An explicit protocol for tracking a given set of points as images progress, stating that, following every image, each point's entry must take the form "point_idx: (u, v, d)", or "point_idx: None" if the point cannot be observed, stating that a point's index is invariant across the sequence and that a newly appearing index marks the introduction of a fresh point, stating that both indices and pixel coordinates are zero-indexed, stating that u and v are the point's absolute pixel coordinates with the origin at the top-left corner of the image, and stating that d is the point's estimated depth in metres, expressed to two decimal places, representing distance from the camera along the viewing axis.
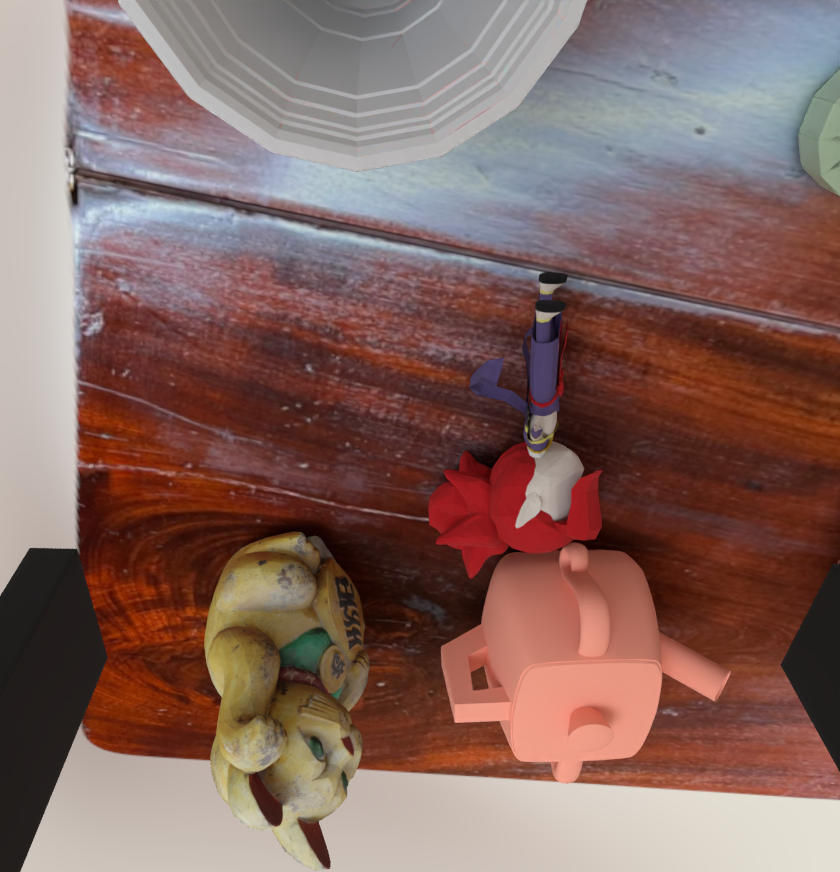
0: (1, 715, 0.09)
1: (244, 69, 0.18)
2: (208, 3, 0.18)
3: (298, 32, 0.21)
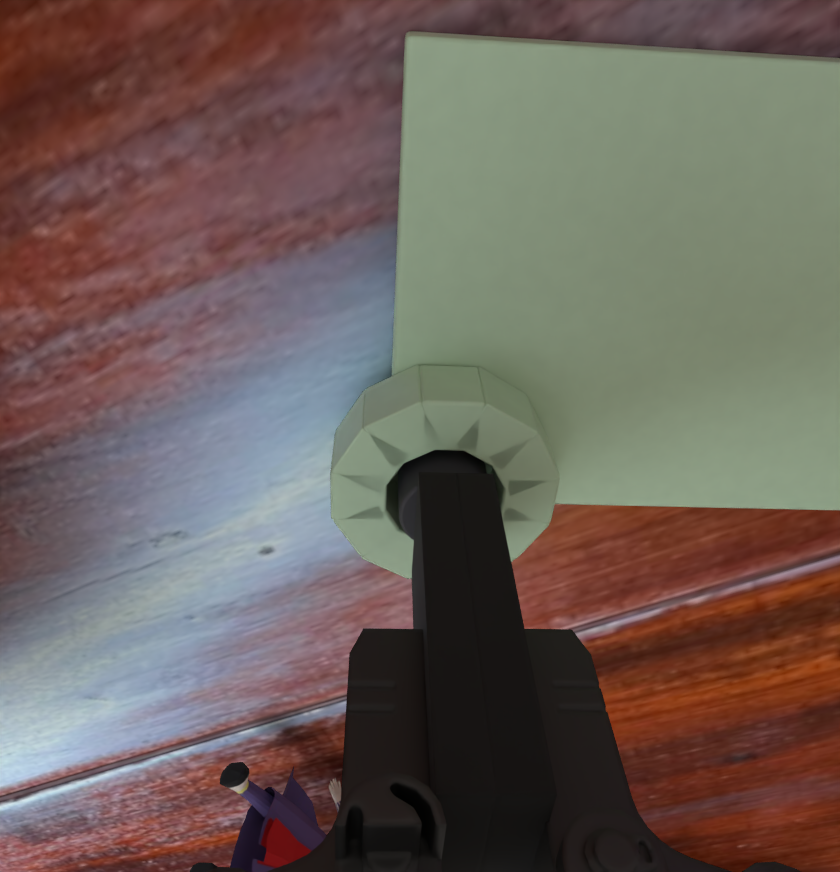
0: None
1: None
2: None
3: None
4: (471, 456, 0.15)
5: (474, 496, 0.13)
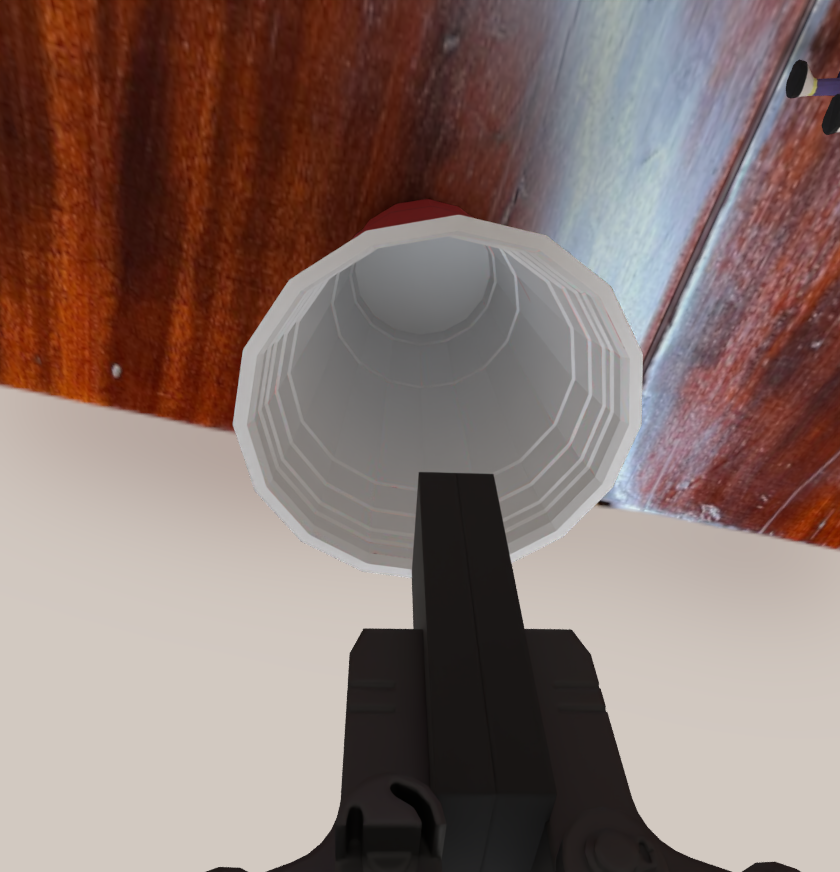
0: None
1: (543, 473, 0.22)
2: (495, 479, 0.23)
3: (511, 376, 0.25)
4: None
5: (474, 496, 0.13)
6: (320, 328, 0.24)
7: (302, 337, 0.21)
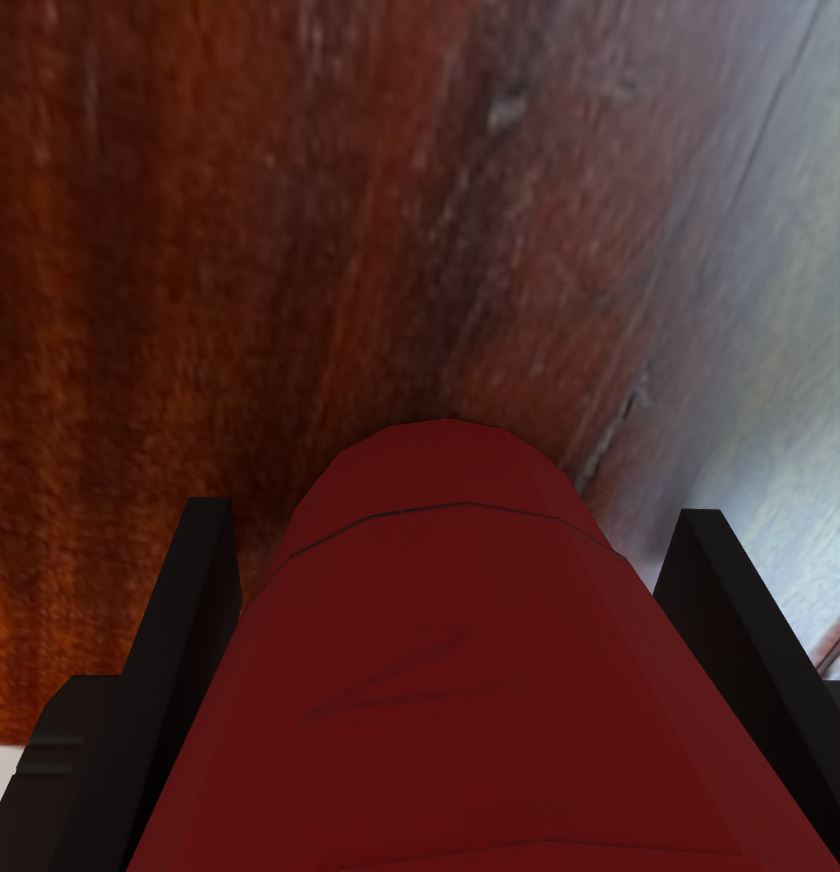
0: (196, 632, 0.11)
1: None
2: None
3: None
4: None
5: (711, 534, 0.13)
6: None
7: None
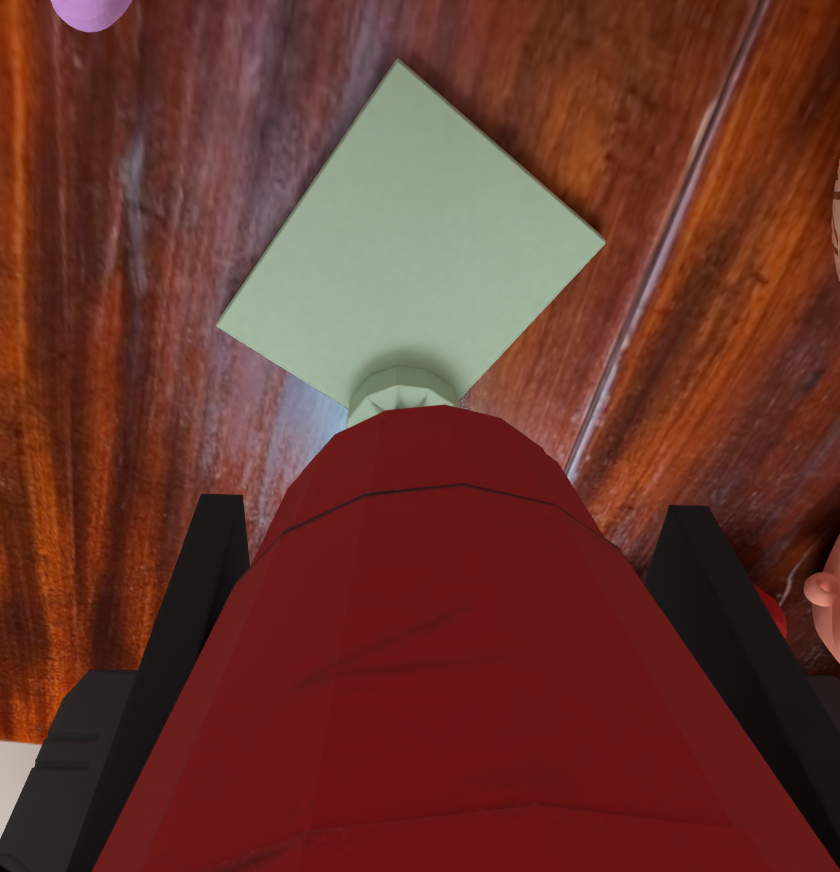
0: (211, 628, 0.11)
1: None
2: None
3: None
4: None
5: (699, 531, 0.13)
6: None
7: None
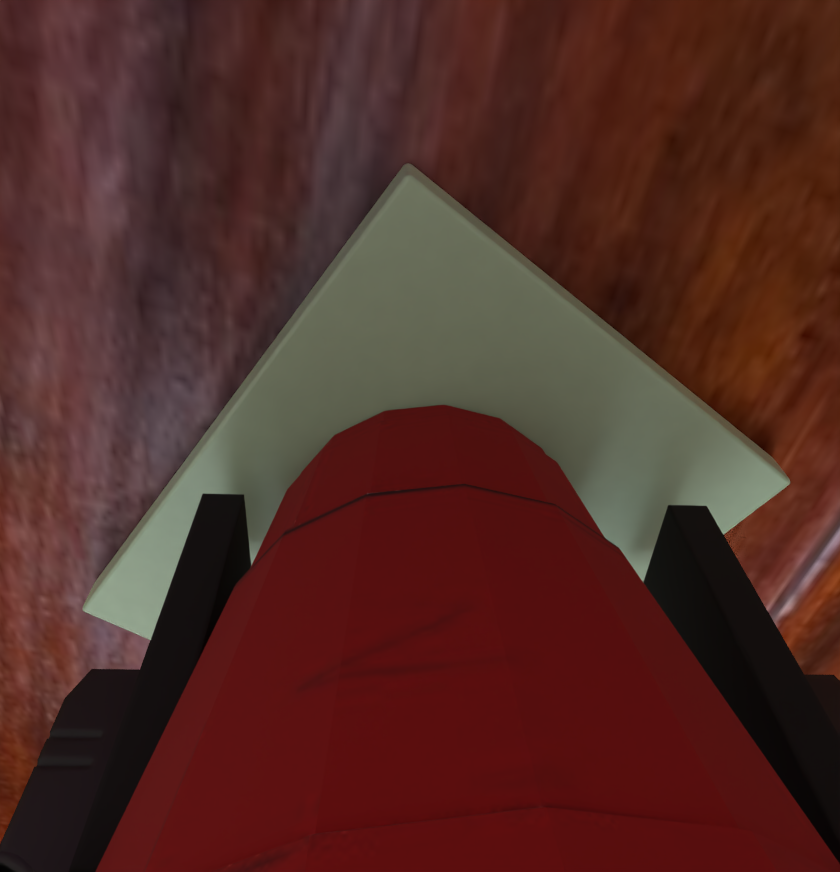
0: (213, 628, 0.11)
1: None
2: None
3: None
4: None
5: (697, 530, 0.13)
6: None
7: None
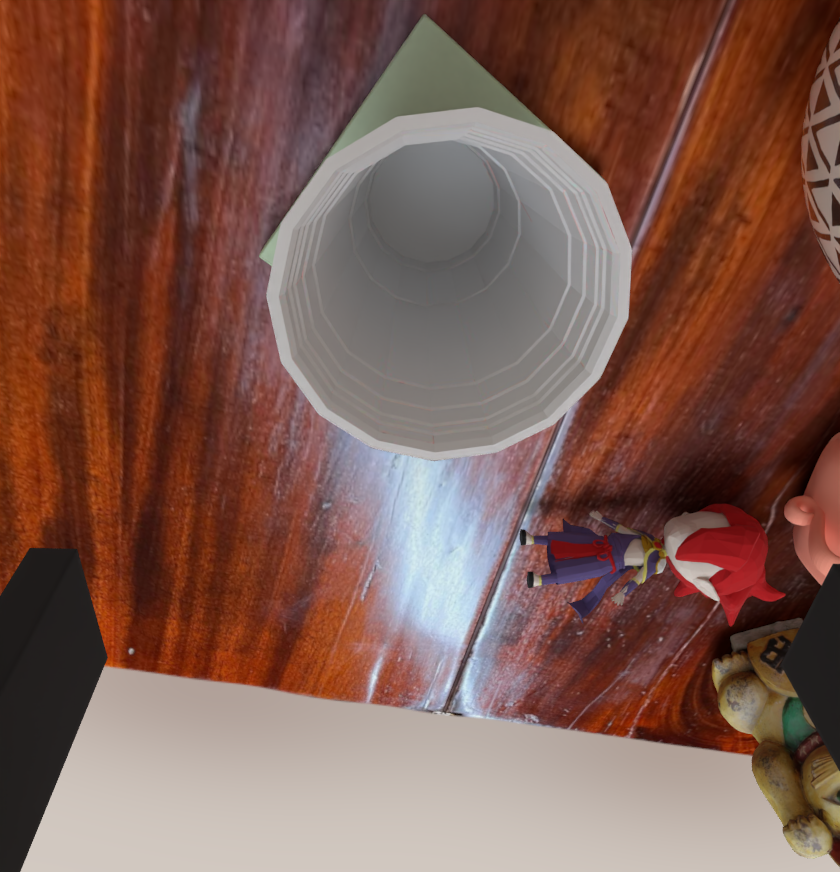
0: (1, 715, 0.09)
1: (538, 370, 0.24)
2: (493, 379, 0.25)
3: (511, 293, 0.28)
4: None
5: None
6: (338, 237, 0.26)
7: (326, 235, 0.23)
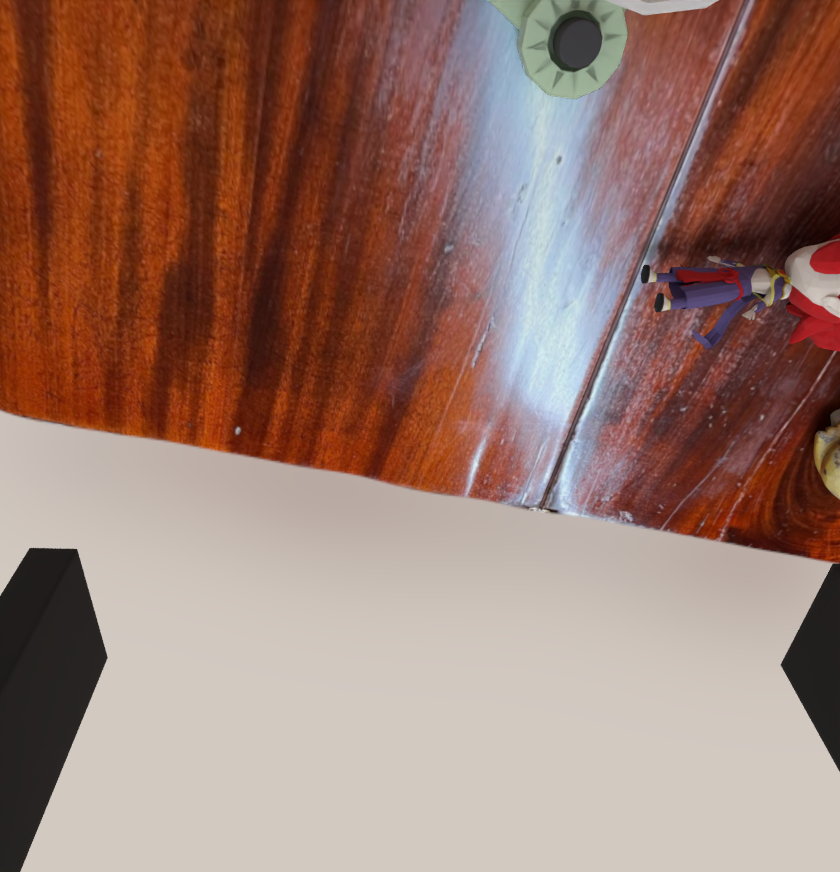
0: (1, 715, 0.09)
1: None
2: None
3: None
4: (571, 18, 0.33)
5: None
6: None
7: None
